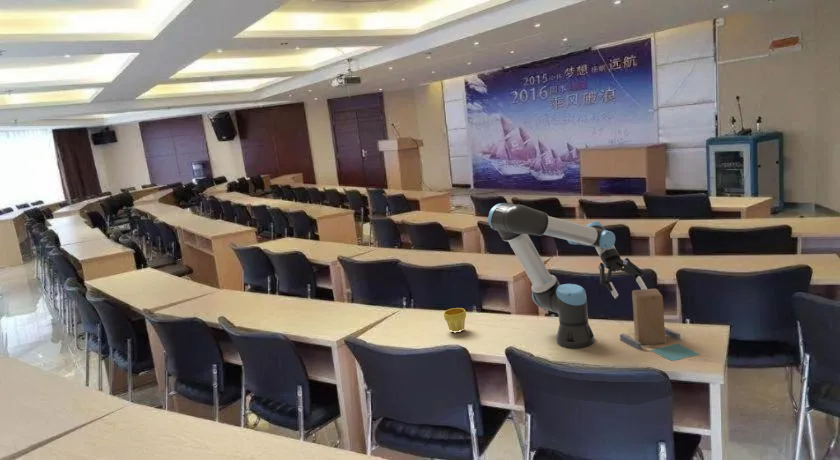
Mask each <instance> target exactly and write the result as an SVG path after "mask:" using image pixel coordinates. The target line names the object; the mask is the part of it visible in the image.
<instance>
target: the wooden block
mask: <svg viewBox="0 0 840 460" xmlns="http://www.w3.org/2000/svg"><path fill="white" fill-rule="evenodd" d="M631 299H632V311H633V326H634V336H635V339H636V340H637V341H638V342H640V343H642V345H654V344H657V345H659V344H660V345H662V344H665V342H666V335H665V327H666V326H665V315H664V314H665V313H664V311H665V310H664V297H663V295H662V293H661V292H660V291H659V289H657V288H647V289H643V290H641V289H633V290H632V291H631Z"/></svg>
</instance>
